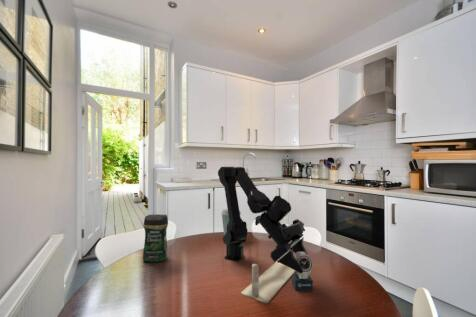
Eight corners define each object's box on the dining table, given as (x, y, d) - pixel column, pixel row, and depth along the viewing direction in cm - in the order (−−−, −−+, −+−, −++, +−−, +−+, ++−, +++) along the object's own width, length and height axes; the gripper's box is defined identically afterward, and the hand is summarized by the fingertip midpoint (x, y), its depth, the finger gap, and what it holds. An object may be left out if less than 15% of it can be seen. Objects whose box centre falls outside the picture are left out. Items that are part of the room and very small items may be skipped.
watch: (296, 293, 72) (296, 257, 72) (290, 280, 80) (290, 248, 80) (315, 293, 72) (314, 257, 72) (306, 280, 80) (306, 248, 80)
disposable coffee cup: (222, 233, 133) (222, 207, 133) (240, 234, 133) (240, 207, 133) (220, 239, 122) (220, 211, 123) (240, 240, 122) (240, 211, 122)
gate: (240, 295, 72) (240, 263, 72) (277, 262, 95) (277, 238, 95) (267, 304, 67) (267, 270, 67) (299, 268, 90) (298, 242, 90)
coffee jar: (140, 263, 94) (140, 216, 94) (147, 255, 101) (147, 212, 102) (164, 262, 94) (165, 216, 94) (169, 255, 102) (169, 212, 102)
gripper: (279, 218, 70) (318, 263, 65) (297, 208, 86) (329, 243, 81) (256, 240, 74) (290, 284, 68) (277, 226, 90) (306, 261, 84)
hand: (306, 266), depth 75 cm, fingers open, 9 cm apart
